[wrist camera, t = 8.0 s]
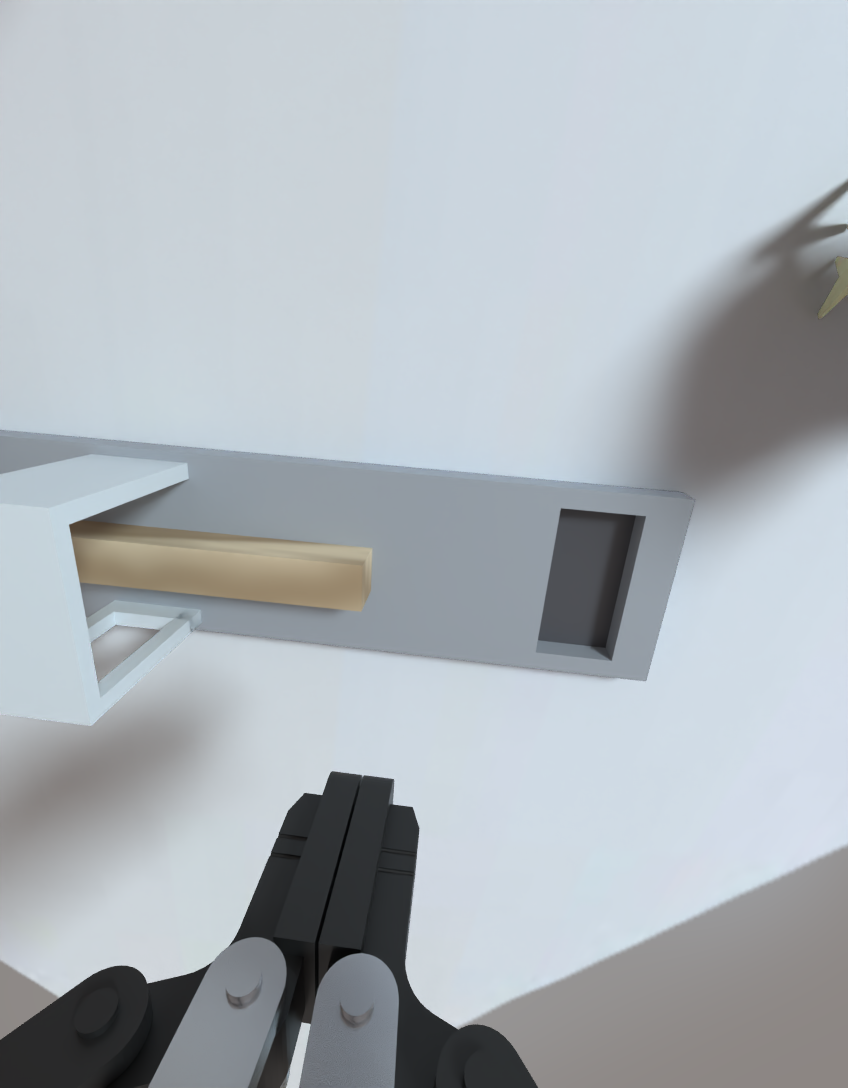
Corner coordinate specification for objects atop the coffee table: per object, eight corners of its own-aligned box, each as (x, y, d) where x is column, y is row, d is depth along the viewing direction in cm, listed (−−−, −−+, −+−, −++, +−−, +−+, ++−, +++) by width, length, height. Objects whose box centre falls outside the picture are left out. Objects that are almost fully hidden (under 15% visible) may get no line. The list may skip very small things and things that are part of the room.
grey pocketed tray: (-91, 421, 27) (-398, 449, 17) (682, 492, 24) (816, 570, 15) (-45, 588, 30) (-280, 687, 21) (637, 665, 27) (722, 818, 18)
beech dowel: (39, 516, 26) (-2, 530, 24) (372, 548, 25) (362, 565, 23) (48, 557, 27) (9, 575, 25) (371, 590, 26) (361, 611, 24)
